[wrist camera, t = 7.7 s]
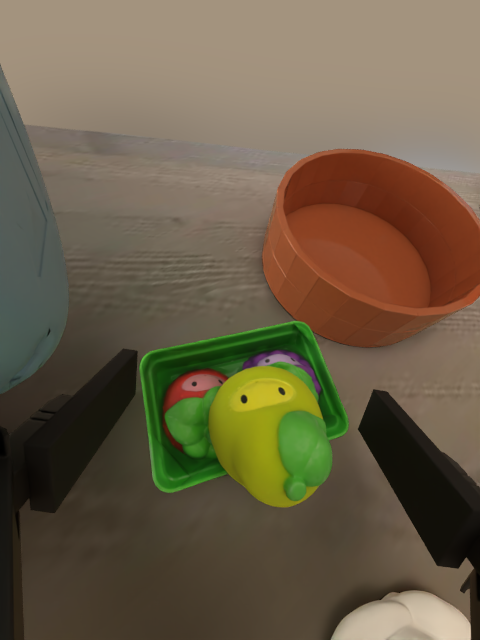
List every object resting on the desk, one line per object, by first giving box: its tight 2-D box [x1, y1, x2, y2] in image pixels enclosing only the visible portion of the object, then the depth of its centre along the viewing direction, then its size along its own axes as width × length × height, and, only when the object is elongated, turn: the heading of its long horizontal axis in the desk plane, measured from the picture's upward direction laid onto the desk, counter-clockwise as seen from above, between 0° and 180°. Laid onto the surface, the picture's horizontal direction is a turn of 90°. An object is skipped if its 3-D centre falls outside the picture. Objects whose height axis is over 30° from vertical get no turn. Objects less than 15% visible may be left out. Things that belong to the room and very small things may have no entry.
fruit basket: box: [139, 321, 349, 507], centre depth 15 cm, size 11×9×11 cm
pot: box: [262, 149, 480, 347], centre depth 24 cm, size 18×18×6 cm
